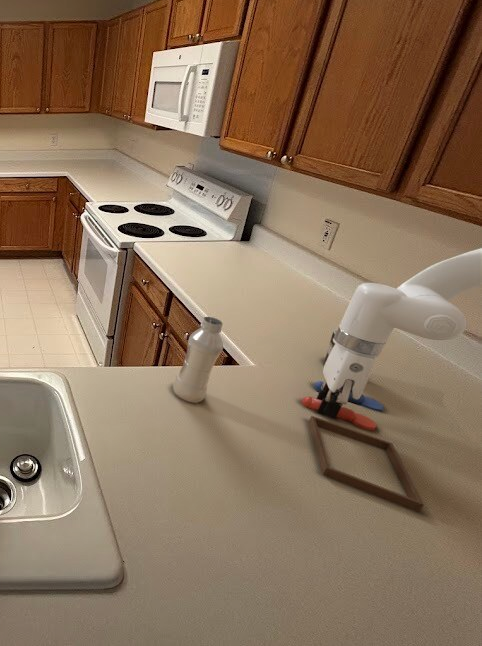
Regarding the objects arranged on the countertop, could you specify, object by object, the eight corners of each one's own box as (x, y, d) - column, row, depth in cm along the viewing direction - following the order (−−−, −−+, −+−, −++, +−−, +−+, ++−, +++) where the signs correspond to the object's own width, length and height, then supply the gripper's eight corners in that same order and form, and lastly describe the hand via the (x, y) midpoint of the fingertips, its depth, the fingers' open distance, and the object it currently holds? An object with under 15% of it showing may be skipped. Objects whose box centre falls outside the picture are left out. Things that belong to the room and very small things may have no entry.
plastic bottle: (175, 384, 98) (199, 310, 90) (205, 397, 94) (233, 321, 86) (167, 396, 93) (191, 320, 86) (199, 411, 89) (228, 332, 82)
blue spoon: (378, 405, 97) (383, 396, 96) (383, 416, 93) (389, 407, 92) (310, 384, 102) (314, 375, 101) (313, 393, 99) (318, 385, 98)
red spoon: (370, 422, 90) (375, 413, 89) (376, 435, 86) (382, 425, 85) (299, 399, 96) (303, 390, 95) (301, 410, 92) (306, 401, 91)
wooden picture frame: (386, 452, 82) (392, 443, 81) (416, 515, 69) (424, 505, 68) (306, 424, 88) (311, 415, 87) (320, 477, 75) (326, 467, 74)
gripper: (395, 366, 77) (354, 441, 84) (370, 330, 90) (337, 398, 97) (344, 353, 80) (309, 426, 87) (328, 320, 93) (298, 386, 100)
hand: (324, 411), depth 92 cm, fingers closed on red spoon, 2 cm apart
